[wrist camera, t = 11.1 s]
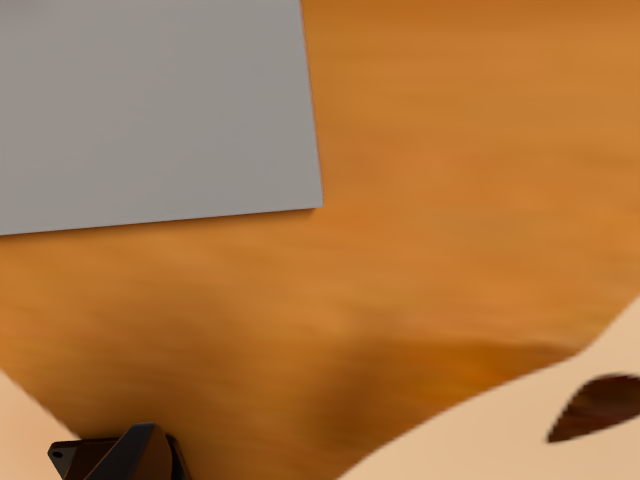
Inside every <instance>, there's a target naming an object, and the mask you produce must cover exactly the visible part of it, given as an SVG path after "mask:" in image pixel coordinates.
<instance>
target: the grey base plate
mask: <svg viewBox="0 0 640 480" xmlns="http://www.w3.org/2000/svg"><path fill="white" fill-rule="evenodd" d="M323 203H324V189H323V181H322V172H321V164H320V155H319V146H318V138H317V129H316V121H315V112H314V104H313V95H312V87H311V78H310V69H309V61H308V52H307V44H306V35H305V27H304V18H303V10H302V1H301V0H0V235H9V234H20V233H31V232H43V231H54V230H66V229H77V228H89V227H100V226H112V225H123V224H135V223H146V222H158V221H169V220H181V219H192V218H204V217H215V216H227V215H238V214H249V213H261V212H272V211H284V210H295V209H307V208H318V207H323Z"/></svg>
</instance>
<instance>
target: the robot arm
mask: <svg viewBox="0 0 640 480" xmlns="http://www.w3.org/2000/svg"><path fill="white" fill-rule="evenodd" d="M48 456H49V458H50V459H51V461H52V463H53V464H54V466H55V468H56V469H57V471H58V473H59V474H60V476H61V478H62V480H191V477H190V474H189V472H188V469H187V467H186V464H185V461H184V459H183V456H182V454H181V451H180V448H179V446H178V443H177V441H176V439H175V438H173V437H172V436H169V435H164V432H163V430H162V427H161V425H160V424H159V423H158V422H139V423H135V424H133V425H132V426H131V427H130V428H129V429H128V430H127V431H126V432H125V433H124V434H123V436H122V437H121V438H109V439H93V440H76V441H60V442H54V443H52V444H51V446H50V449H49V450H48Z"/></svg>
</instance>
